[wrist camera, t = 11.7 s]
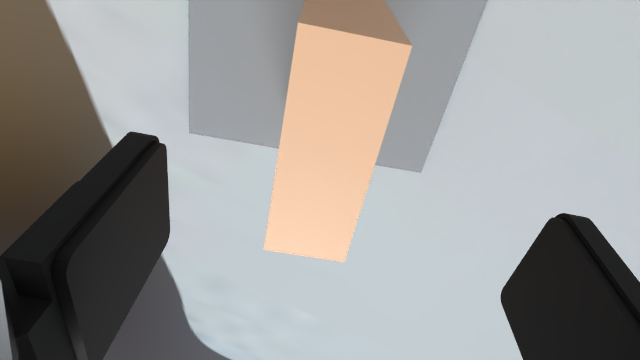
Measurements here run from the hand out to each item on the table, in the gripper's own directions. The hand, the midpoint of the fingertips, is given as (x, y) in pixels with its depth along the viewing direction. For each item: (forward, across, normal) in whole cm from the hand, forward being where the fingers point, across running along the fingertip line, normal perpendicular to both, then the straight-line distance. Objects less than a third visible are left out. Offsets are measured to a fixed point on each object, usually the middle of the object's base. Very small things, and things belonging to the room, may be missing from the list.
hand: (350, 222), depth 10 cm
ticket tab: (+13, +1, 0) cm, 13 cm away
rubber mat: (+13, +1, 0) cm, 13 cm away
